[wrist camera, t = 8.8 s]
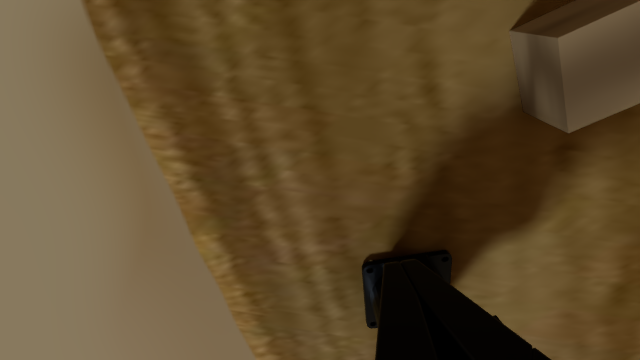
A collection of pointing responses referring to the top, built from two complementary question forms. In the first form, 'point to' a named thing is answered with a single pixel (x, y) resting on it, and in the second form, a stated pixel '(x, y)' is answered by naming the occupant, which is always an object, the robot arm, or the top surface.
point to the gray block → (579, 62)
